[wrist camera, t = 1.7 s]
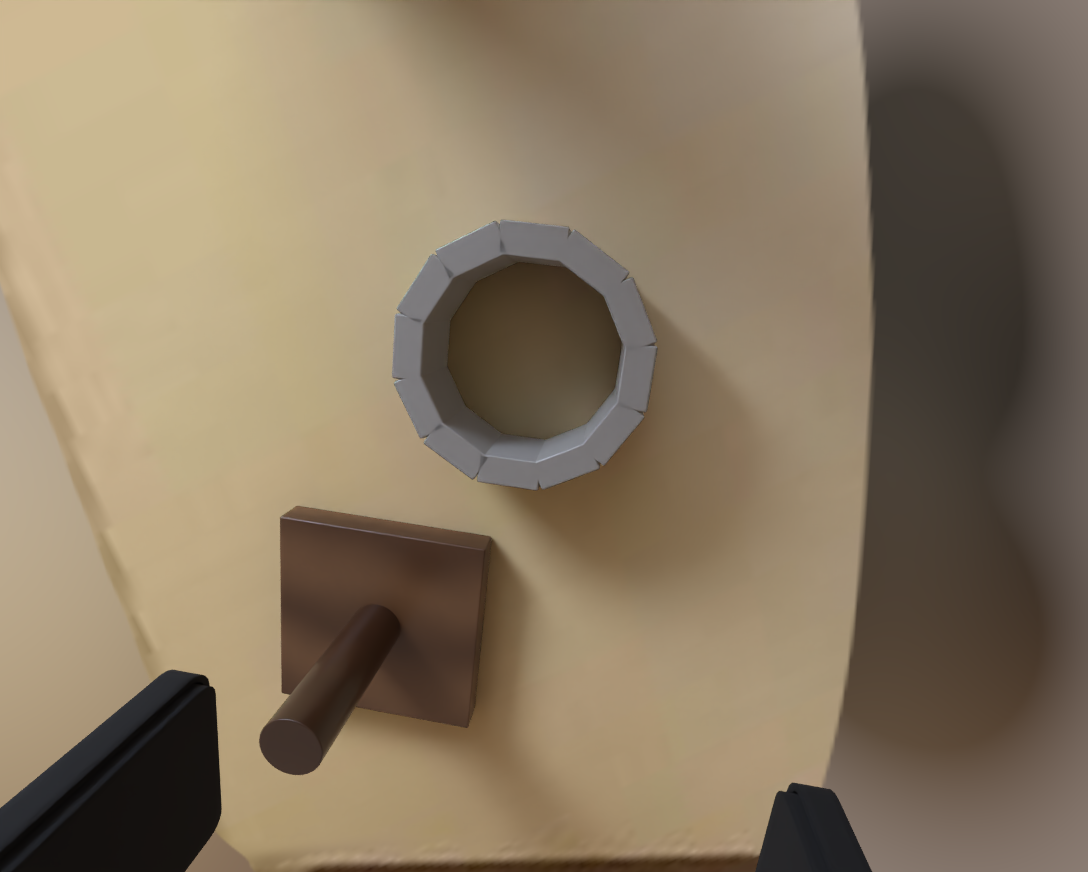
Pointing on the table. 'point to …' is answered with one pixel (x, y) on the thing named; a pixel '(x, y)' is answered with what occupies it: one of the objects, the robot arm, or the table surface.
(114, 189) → the table surface
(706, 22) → the table surface
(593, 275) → the tape roll
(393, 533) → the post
